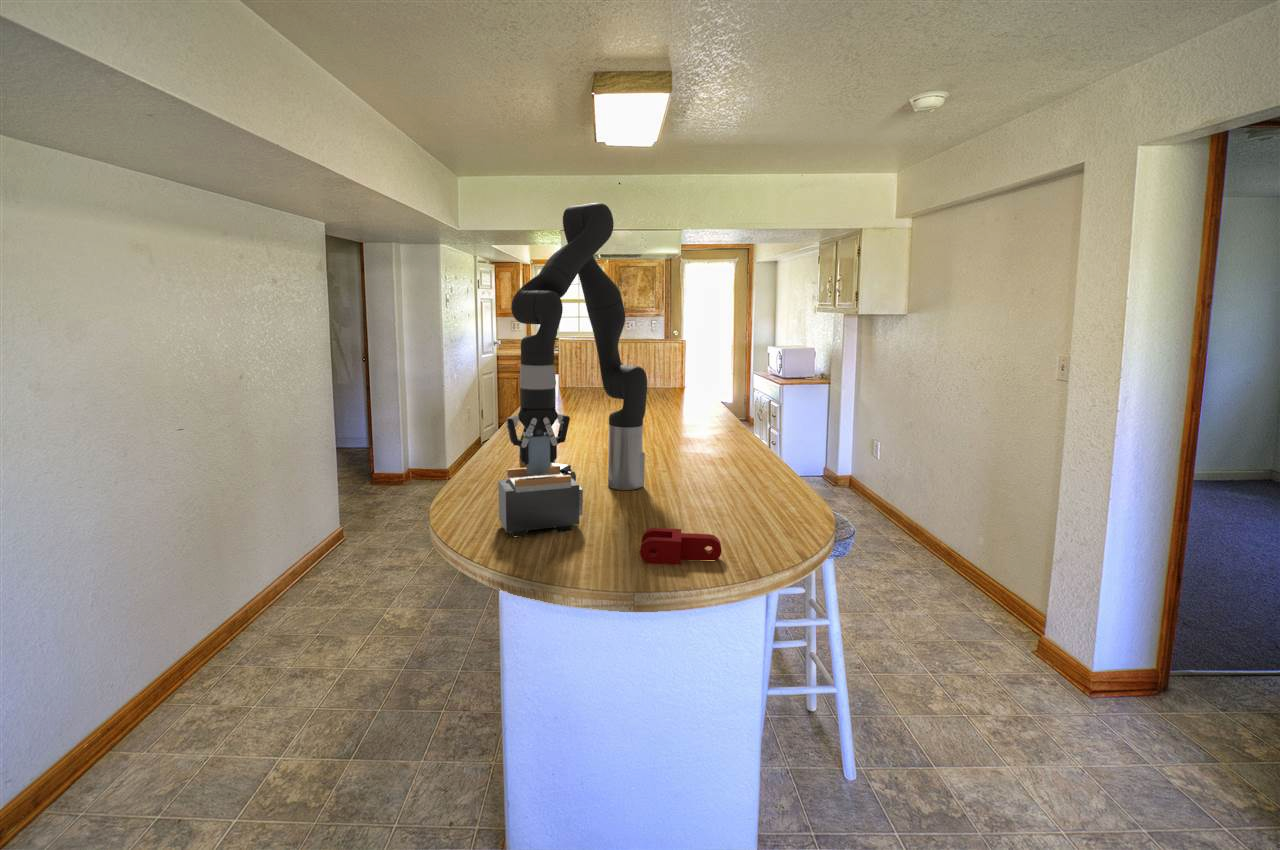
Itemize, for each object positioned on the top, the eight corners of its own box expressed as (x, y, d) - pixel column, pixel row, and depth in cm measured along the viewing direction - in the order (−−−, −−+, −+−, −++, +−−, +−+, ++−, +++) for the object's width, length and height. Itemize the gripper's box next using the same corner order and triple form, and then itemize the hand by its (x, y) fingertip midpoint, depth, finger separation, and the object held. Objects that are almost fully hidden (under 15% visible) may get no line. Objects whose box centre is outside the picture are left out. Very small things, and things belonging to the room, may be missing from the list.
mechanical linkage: (639, 564, 128) (640, 539, 127) (641, 550, 135) (642, 527, 134) (721, 567, 127) (722, 543, 126) (719, 554, 134) (720, 530, 133)
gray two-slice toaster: (572, 517, 154) (572, 464, 152) (585, 531, 145) (585, 474, 142) (498, 524, 148) (497, 469, 145) (506, 539, 139) (505, 481, 136)
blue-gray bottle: (547, 467, 147) (547, 425, 145) (553, 473, 142) (553, 430, 140) (524, 469, 145) (523, 426, 143) (529, 475, 140) (528, 431, 139)
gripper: (565, 382, 146) (565, 456, 149) (500, 384, 141) (502, 461, 144) (575, 386, 139) (574, 464, 143) (507, 388, 134) (508, 469, 137)
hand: (538, 462), depth 143 cm, fingers closed on blue-gray bottle, 5 cm apart
